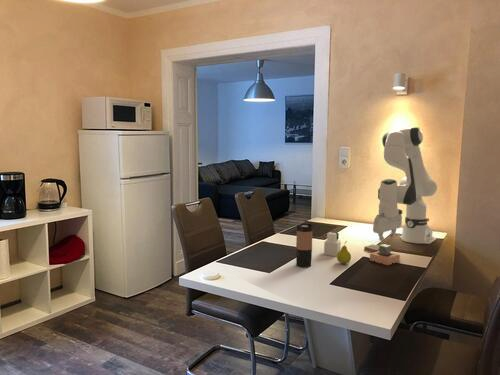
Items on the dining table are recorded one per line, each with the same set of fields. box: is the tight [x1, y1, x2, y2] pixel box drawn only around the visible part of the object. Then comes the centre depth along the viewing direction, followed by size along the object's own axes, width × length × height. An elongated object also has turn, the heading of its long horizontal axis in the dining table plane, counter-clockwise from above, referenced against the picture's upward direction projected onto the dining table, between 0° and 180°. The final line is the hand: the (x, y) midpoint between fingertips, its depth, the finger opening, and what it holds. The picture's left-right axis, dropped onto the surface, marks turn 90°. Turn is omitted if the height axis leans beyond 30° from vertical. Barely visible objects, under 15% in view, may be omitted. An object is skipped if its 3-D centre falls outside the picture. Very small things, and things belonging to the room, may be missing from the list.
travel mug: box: [295, 223, 313, 268], centre depth 196 cm, size 8×8×20 cm
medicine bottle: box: [323, 231, 342, 257], centre depth 216 cm, size 7×7×12 cm
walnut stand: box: [363, 244, 379, 253], centre depth 224 cm, size 8×8×2 cm
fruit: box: [336, 240, 352, 265], centre depth 200 cm, size 7×7×12 cm
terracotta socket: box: [369, 251, 401, 266], centre depth 205 cm, size 10×10×4 cm
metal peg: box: [378, 243, 392, 257], centre depth 205 cm, size 4×4×8 cm
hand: (387, 239), depth 204 cm, fingers open, 8 cm apart
